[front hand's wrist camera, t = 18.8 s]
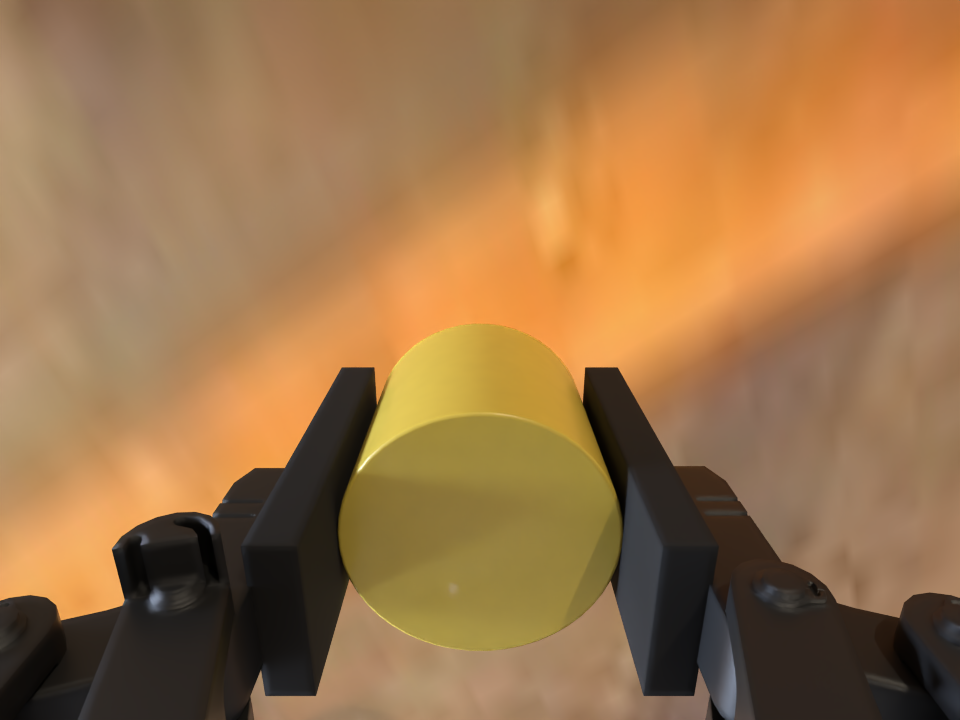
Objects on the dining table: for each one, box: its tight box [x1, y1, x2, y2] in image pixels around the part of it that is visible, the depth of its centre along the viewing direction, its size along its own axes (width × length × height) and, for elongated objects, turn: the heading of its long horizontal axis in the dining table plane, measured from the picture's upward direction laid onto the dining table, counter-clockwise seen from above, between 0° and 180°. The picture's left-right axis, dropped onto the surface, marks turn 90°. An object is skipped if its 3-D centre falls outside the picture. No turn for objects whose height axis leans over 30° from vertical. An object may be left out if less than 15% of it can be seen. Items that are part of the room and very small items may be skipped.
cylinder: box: [337, 324, 623, 651], centre depth 13 cm, size 5×5×5 cm
